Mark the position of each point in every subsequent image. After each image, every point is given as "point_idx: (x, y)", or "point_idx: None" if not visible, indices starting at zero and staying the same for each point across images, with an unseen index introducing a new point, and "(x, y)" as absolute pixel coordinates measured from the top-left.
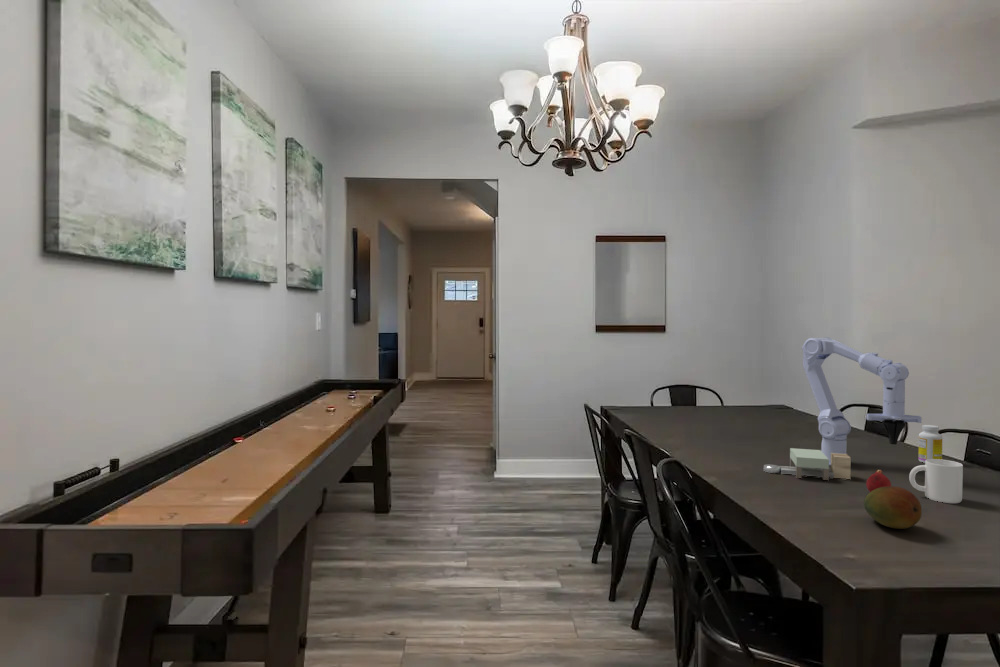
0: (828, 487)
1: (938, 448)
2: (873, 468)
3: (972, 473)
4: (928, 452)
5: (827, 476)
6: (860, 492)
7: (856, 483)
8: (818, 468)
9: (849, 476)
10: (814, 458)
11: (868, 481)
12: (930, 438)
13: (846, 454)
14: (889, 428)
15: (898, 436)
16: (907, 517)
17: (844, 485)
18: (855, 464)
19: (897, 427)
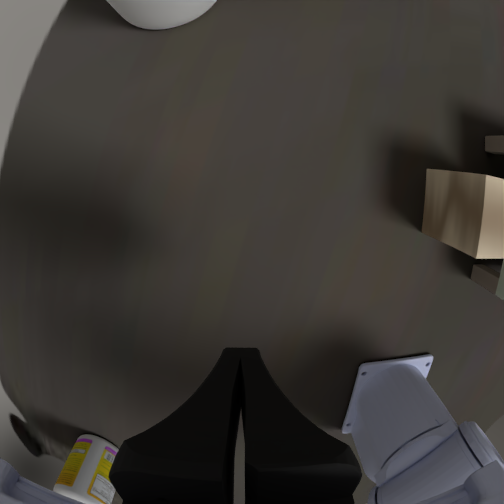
0: (488, 66)
1: (69, 464)
2: (278, 375)
3: (21, 366)
4: (94, 461)
5: (497, 136)
6: (420, 15)
7: (419, 117)
8: (484, 267)
9: (436, 169)
10: None
11: None
12: (77, 491)
13: (480, 245)
14: (306, 428)
15: (207, 380)
16: None
17: (454, 87)
18: (321, 405)
19: (214, 439)
